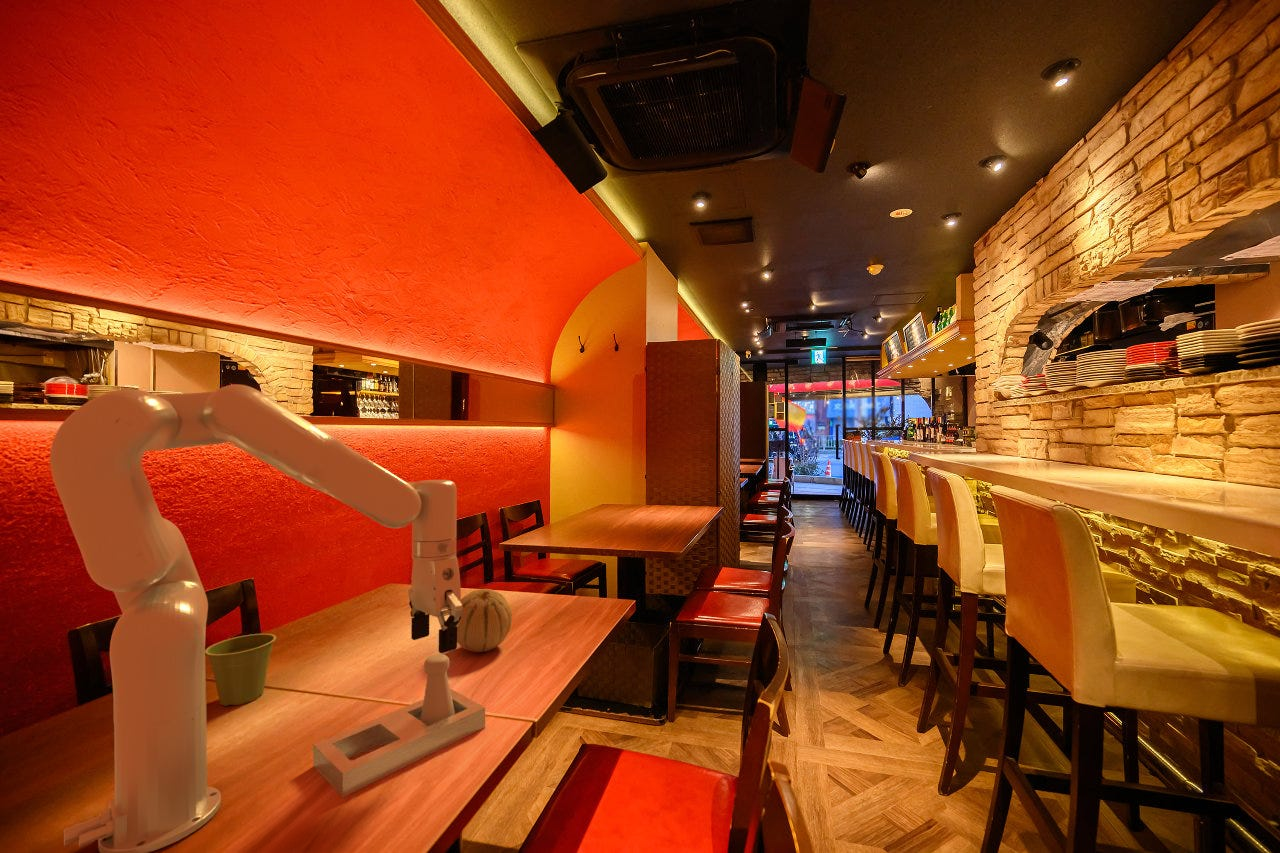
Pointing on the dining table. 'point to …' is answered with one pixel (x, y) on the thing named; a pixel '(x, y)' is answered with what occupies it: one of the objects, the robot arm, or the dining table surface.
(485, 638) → the cantaloupe
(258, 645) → the plant pot
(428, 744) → the beige compartment tray
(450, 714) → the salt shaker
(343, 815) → the dining table surface
